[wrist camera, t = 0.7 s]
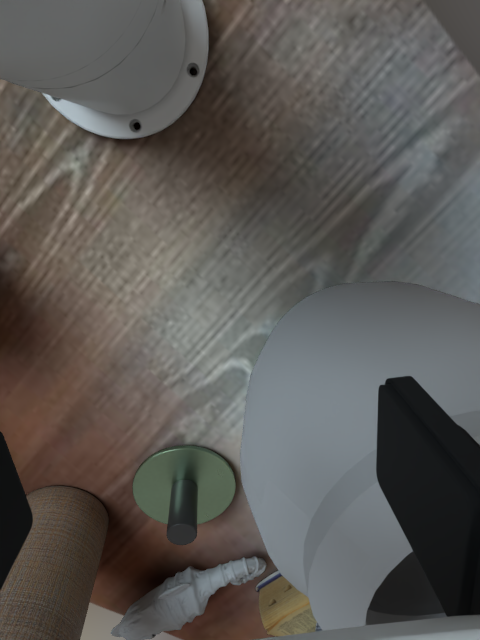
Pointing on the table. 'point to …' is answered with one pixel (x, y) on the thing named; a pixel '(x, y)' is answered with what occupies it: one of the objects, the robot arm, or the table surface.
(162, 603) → the seahorse
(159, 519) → the lid
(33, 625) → the planter
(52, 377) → the table surface
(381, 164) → the table surface
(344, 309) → the vase
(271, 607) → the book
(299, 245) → the table surface
